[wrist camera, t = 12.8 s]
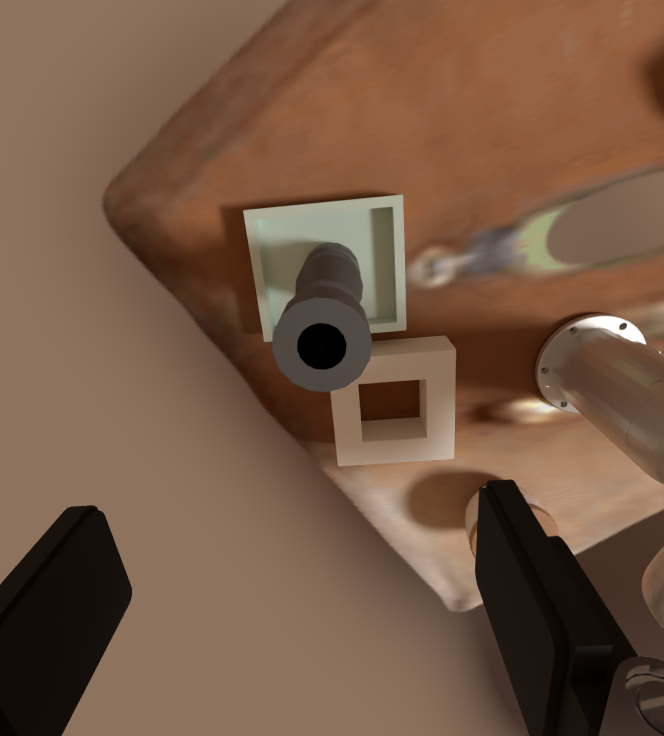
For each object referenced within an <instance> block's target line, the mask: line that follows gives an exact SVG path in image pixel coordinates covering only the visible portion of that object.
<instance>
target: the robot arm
mask: <svg viewBox="0 0 664 736" xmlns="http://www.w3.org/2000/svg"><path fill="white" fill-rule="evenodd" d="M542 368H543V369H542ZM535 380H536V383H537V386H538V389H539V390H540V392H541V394H542V395H543V396H544V397H545V398H546V399H547V401H549V402H550V403H551V404H552V405H553V406H555V407H557V408H559V409H561V410H563V411H567V412H570V413H581V414H582V415H583V416H585V417H586V418H587V419H588V420H589V421H590V422H591V423H592V424H593V425H594V426H595V427H596V428H598V429H599V430H600V431H601V432H602V433H603V434H604V435H605V436H606V437H607V438H608V439H610V440H611V441H612V442H613V443H614V444H615V445H616V446H617V447H618V448H619V449H620V450H621V451H623V452H624V453H625V454H626V455H627V456H628V457H629V458H630V459H631V460H632V461H633V462H635V463H636V464H637V465H638V466H639V467H640V468H641V469H642V470H643V471H644V472H645V473H647V474H648V475H649V476H650V477H652V478H653V479H655V480H656V481H658V482H660V483H662V484H664V352H659V351H657V350H655V349H653V348H651V347H649V346H647V344H646V341H645V338H644V336H643V334H642V333H641V331H640V330H639V329H638V328H637V327H636V326H635V325H634V324H632V323H631V322H630V321H628V320H626V319H624V318H622V317H619V316H616V315H612V314H605V313H597V314H589V315H585V316H581V317H578V318H576V319H573V320H571V321H569V322H567V323H566V324H564V325H563V326H561V327H560V328H559V329H557V330H556V331H555V332H554V333H553V334H552V335H551V336H550V337H549V338H548V340H547V341H546V342H545V343H544V345H543V347H542V348H541V350H540V352H539V355H538V357H537V360H536V365H535ZM475 575H476V581H477V585H478V588H479V591H480V594H481V597H482V600H483V603H484V606H485V608H486V611H487V614H488V617H489V620H490V623H491V626H492V629H493V632H494V634H495V637H496V640H497V643H498V646H499V649H500V652H501V655H502V657H503V660H504V663H505V666H506V669H507V672H508V675H509V677H510V681H511V683H512V686H513V689H514V692H515V695H516V698H517V700H518V704H519V706H520V709H521V712H522V715H523V718H524V721H525V723H526V727H527V729H528V733H529V735H530V736H664V661H663V660H661V659H658V658H653V657H646V656H638V655H637V654H636V652H635V651H634V649H633V647H632V646H631V644H630V643H629V641H628V640H627V638H626V636H625V635H624V633H623V632H622V630H621V629H620V627H619V626H618V624H617V622H616V621H615V619H614V618H613V616H612V615H611V613H610V611H609V610H608V608H607V607H606V606H605V604H604V602H603V601H602V599H601V597H600V596H599V594H598V593H597V591H596V590H595V588H594V586H593V585H592V583H591V582H590V580H589V579H588V577H587V576H586V574H585V573H584V571H583V570H582V568H581V566H580V565H579V563H578V562H577V560H576V558H575V557H574V555H573V554H572V552H571V551H570V549H569V547H568V546H567V544H566V543H565V542H564V541H563V539H562V538H560V537H559V536H547V535H546V533H545V531H544V530H543V528H542V526H541V525H540V523H539V521H538V520H537V518H536V516H535V515H534V513H533V511H532V510H531V508H530V506H529V505H528V503H527V501H526V500H525V498H524V496H523V495H522V493H521V491H520V490H519V488H518V486H517V485H516V483H515V482H514V481H513V480H496V481H488V482H487V484H486V487H484V488H480V489H479V500H478V521H477V541H476V562H475ZM642 591H643V595H644V598H645V601H646V603H647V605H648V607H649V609H650V610H651V612H652V613H653V615H654V617H655V618H656V619H657V621H658V622H659V623H660V624H661V626H662V627H663V628H664V547H663V548H662V549H661V550H660V552H659V553H658V554H657V555H656V556H655V558H654V559H653V560H652V562H651V563H650V564H649V566H648V567H647V569H646V571H645V573H644V576H643V580H642ZM131 597H132V587H131V584H130V581H129V579H128V576H127V573H126V571H125V568H124V565H123V563H122V560H121V558H120V555H119V552H118V549H117V547H116V544H115V542H114V538H113V536H112V533H111V531H110V528H109V525H108V522H107V520H106V517H105V515H104V513H103V512H102V511H99V510H98V509H97V507H95V506H92V505H90V506H74V507H69V508H67V509H66V510H65V511H64V512H63V513H62V514H61V515H60V516H59V518H58V519H57V520H56V521H55V522H54V523H53V525H52V526H51V527H50V528H49V529H48V530H47V531H46V533H45V534H44V535H43V536H42V537H41V538H40V540H39V541H38V542H37V543H36V544H35V545H34V546H33V547H32V549H31V550H30V551H29V552H28V553H27V554H26V555H25V557H24V558H23V559H22V560H21V561H20V562H19V564H18V565H17V566H16V567H15V568H14V569H13V571H12V572H11V573H10V574H9V575H8V576H7V577H6V579H5V580H4V581H3V582H2V583H1V585H0V736H61V735H62V734H63V732H64V730H65V728H66V726H67V724H68V722H69V720H70V718H71V716H72V714H73V712H74V710H75V708H76V707H77V705H78V703H79V701H80V699H81V697H82V695H83V693H84V691H85V689H86V687H87V685H88V683H89V681H90V679H91V677H92V676H93V673H94V672H95V670H96V668H97V666H98V664H99V662H100V660H101V658H102V656H103V654H104V652H105V650H106V648H107V646H108V644H109V642H110V640H111V639H112V637H113V635H114V633H115V631H116V629H117V627H118V625H119V623H120V621H121V619H122V617H123V615H124V613H125V611H126V609H127V608H128V605H129V604H130V601H131Z"/></svg>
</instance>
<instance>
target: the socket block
mask: <svg viewBox="0 0 664 736" xmlns="http://www.w3.org/2000/svg"><path fill="white" fill-rule="evenodd" d="M407 380H419V402H420V417H413V418H399V419H385V420H371V421H361V415H360V401H359V388H358V384H367V383H381V382H394V381H407ZM455 383H456V349H455V347H454V346H453V345H452V343H451V342H450V341H449V339H448V338H447V337H446V335H444V336H431V337H419V338H407V339H394V340H382V341H372V348H371V356H370V361H369V363H368V364H367V366H366V368H365V369H364V371H363V373H362V374H361V376H360V377H359V378H357V379H356V380H355V381H353V382H352V383H351V384H349V385H348V386H347V387H345V388H341V389H337V390H334V391H330V393H331V403H332V412H333V422H334V432H335V441H336V451H337V461H338V466H351V465H366V464H382V463H397V462H412V461H427V460H443V459H454V433H455Z"/></svg>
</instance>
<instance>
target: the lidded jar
mask: <svg viewBox="0 0 664 736" xmlns="http://www.w3.org/2000/svg"><path fill="white" fill-rule="evenodd" d="M484 487H486V485H485V486H483V487H482V488H484ZM518 488H519V490H520V491H521V493H522V495H523V496H524V498H525V500H526V501H527V503H528V505H529V506H530V508H531V510H532V511H533V513H534V515H535V516H536V518H537V520H538V521H539V523H540V525H541V526H542V528H543V530H544V531H545V533H546V535H547V536H559V530H558V527H557V525H556V523H555V521H554V520H553V518H552V517H551V516H550V515H549V513H548V512H547V511H546V509H545V508H544V507H543V505H542V504H541V503H540V502H539V501H538V500H537V499H536V498H535V497H534V496H533V495H532V494H531V493H529V492H528V491H526V490H525V489H523V488H521V487H519V486H518ZM478 500H479V490H478V491H477V492H476V493H475V494H474V495H473V496H472V498H471V499H470V501H469V503H468V505H467V508H466V512H465V527H466V533H467V537H468V540H469V543H470V548H471V551H472V553H473V556H474V558H475V559H476V541H477V521H478Z"/></svg>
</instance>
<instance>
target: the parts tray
mask: <svg viewBox="0 0 664 736" xmlns="http://www.w3.org/2000/svg"><path fill="white" fill-rule="evenodd" d="M243 213H244V219H245V225H246V232H247V238H248V244H249V250H250V256H251V263H252V269H253V275H254V281H255V287H256V294H257V300H258V306H259V312H260V318H261V325H262V331H263V337H264V342H270V341H272V339H273V332H274V330H275V327H276V325H277V323H278V321H279V319H280V317H281V315H282V313H283V311H284V309H285V307H286V305H287V303H288V302H289V301H290V300H291V299H292V298H293V297H294V296H295V290H296V279H297V277H298V275H299V273H300V271H301V268H302V267H303V264H304V262H305V260H306V258H307V256H308V254H309V253H310V252H311V251H312V250H313V249H314V248H316V247H317V246H318V245H321V244H324V243H327V242H332V243H340V244H342V245H344V246H345V247H347V248H349V249H350V250H351V251H352V253H353V254H354V255H355V256H356V258H357V262H358V265H359V269H360V273H361V274H360V276H361V280H362V283H363V292H362V299H361V301H360V305H361V306H362V307H363V309H364V311H365V314H366V318H367V321H368V324H369V329H370V333H380V332H392V331H404V330H406V293H405V255H404V218H403V195H390V196H380V197H370V198H359V199H349V200H339V201H329V202H319V203H309V204H299V205H289V206H278V207H268V208H258V209H249V210H243Z"/></svg>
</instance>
